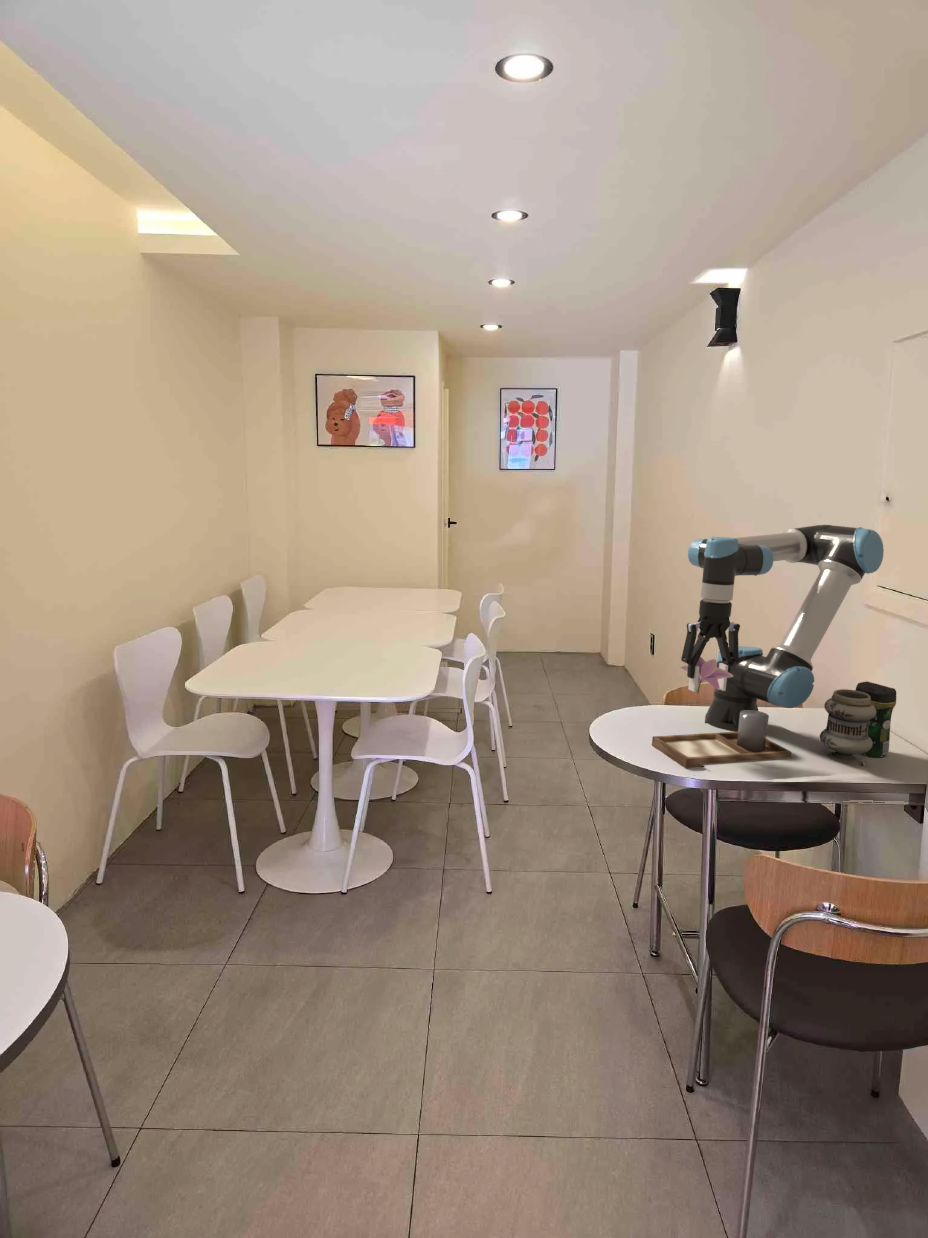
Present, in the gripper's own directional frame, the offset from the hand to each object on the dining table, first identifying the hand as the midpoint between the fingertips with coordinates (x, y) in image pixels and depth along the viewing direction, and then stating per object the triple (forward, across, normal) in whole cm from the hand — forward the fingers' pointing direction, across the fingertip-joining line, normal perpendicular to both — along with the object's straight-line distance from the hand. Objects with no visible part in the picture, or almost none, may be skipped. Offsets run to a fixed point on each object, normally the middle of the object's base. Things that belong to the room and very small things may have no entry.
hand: (706, 689), depth 200 cm
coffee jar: (+17, -46, +6) cm, 50 cm away
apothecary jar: (+17, -34, +11) cm, 40 cm away
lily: (0, +1, -1) cm, 1 cm away
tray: (+17, -6, 0) cm, 18 cm away
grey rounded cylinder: (+16, -15, 0) cm, 22 cm away
